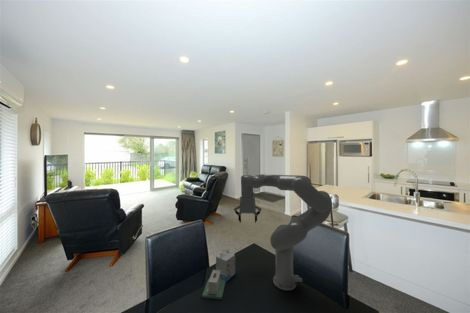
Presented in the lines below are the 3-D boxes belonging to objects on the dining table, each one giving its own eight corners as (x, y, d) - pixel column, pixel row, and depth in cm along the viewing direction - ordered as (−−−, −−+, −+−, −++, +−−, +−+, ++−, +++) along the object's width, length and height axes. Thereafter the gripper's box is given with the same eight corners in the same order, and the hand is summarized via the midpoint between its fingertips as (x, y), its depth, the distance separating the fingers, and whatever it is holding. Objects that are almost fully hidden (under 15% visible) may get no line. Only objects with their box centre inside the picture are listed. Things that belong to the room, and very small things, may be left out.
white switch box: (220, 281, 96) (220, 269, 96) (216, 294, 86) (216, 281, 86) (212, 280, 96) (213, 268, 96) (208, 293, 87) (208, 280, 87)
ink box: (226, 282, 97) (226, 258, 97) (215, 275, 102) (215, 253, 102) (235, 273, 103) (235, 251, 104) (225, 268, 109) (224, 247, 109)
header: (225, 282, 97) (225, 272, 97) (221, 299, 85) (221, 288, 85) (208, 280, 98) (208, 270, 98) (202, 297, 86) (201, 286, 86)
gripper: (260, 193, 111) (261, 219, 110) (234, 193, 112) (234, 219, 112) (261, 196, 103) (262, 224, 103) (233, 196, 105) (233, 224, 105)
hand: (247, 221), depth 107 cm, fingers open, 9 cm apart
